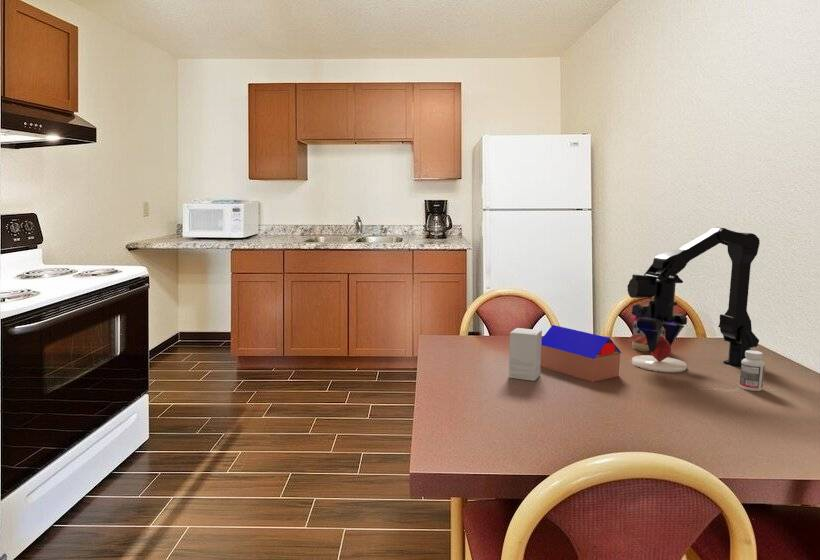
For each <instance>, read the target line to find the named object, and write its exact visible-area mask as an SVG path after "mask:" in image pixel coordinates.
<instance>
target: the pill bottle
mask: <svg viewBox="0 0 820 560" xmlns="http://www.w3.org/2000/svg"><path fill="white" fill-rule="evenodd" d="M763 355H764V353H763V352H761V351H758V350H747V351H745V357H746V358H745V359H743V360H742V362H741V366H740V373H739V374H740V375H739V387H740V388H741V389H743V390H746V391H753V392H760V391H762V390H763V389H764V387H763V386H764V378H765V377H764V376H765V368H766V363H765V362H764V361H763V360H762V359H763V357H764V356H763Z"/></svg>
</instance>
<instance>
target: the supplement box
mask: <svg viewBox="0 0 820 560" xmlns="http://www.w3.org/2000/svg"><path fill="white" fill-rule="evenodd" d="M542 334H543V331H542V329H533V328H532V329H531V328H523V327H521V328H520V327H516V328H514V329H513V330H511V331H510V332H509V347H508V348H509V351H508V378H510V379H517V380H522V381H523V380H525V381H532V382H535V381H536V380H537V379H538V378H539V377H540V375H541V367H542V366H541V343H542V338H543V335H542Z"/></svg>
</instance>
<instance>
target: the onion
mask: <svg viewBox="0 0 820 560" xmlns="http://www.w3.org/2000/svg"><path fill="white" fill-rule="evenodd" d="M650 353H651V355H652V356H653V357H654V358H655V359H656V360H657V361H662V360H664V359H665V358H667V357H669V356H670V355H671V353H672V345H671V346H670V344H669V342H668V341H667V340H666V339H664V337H663V335H660V338H659V340H658V343H657V346H656V348H655V350H654V352H650Z"/></svg>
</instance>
